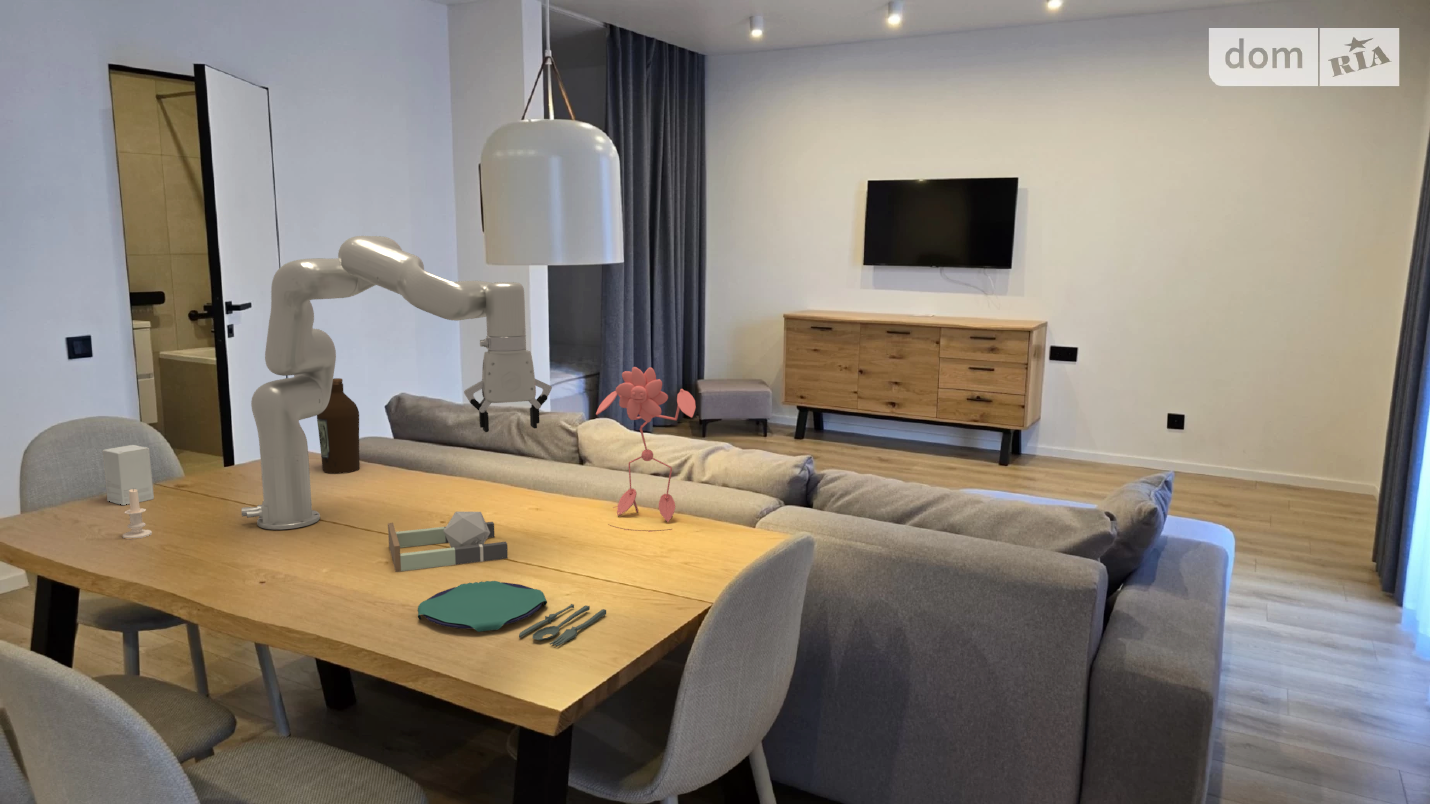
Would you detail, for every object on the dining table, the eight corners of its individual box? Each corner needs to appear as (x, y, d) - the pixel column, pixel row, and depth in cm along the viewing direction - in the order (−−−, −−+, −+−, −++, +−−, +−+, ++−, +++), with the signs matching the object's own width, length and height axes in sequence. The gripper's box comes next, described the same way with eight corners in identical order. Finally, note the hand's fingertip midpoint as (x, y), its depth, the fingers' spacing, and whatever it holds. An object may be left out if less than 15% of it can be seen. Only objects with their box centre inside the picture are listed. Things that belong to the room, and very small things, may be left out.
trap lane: (395, 571, 175) (394, 546, 174) (388, 546, 189) (387, 523, 188) (507, 558, 183) (507, 533, 182) (493, 535, 197) (492, 512, 197)
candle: (155, 535, 195) (151, 487, 193) (127, 541, 191) (122, 492, 189) (147, 530, 198) (143, 483, 197) (119, 535, 195) (114, 487, 193)
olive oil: (356, 463, 261) (351, 375, 257) (366, 471, 252) (361, 379, 248) (316, 468, 255) (310, 378, 251) (325, 476, 246) (319, 382, 242)
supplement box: (155, 499, 223) (150, 447, 221) (122, 506, 216) (116, 453, 214) (139, 494, 226) (134, 443, 224) (106, 501, 220) (101, 449, 218)
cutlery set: (477, 585, 170) (476, 573, 169) (616, 615, 156) (616, 602, 156) (395, 623, 152) (394, 609, 152) (544, 660, 139) (543, 646, 139)
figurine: (608, 506, 220) (607, 360, 215) (705, 520, 209) (707, 367, 204) (571, 523, 207) (569, 367, 201) (674, 539, 196) (674, 375, 190)
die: (466, 563, 182) (494, 521, 183) (429, 540, 182) (458, 498, 184) (475, 564, 190) (502, 524, 191) (441, 542, 190) (468, 502, 192)
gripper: (465, 348, 178) (469, 436, 181) (554, 344, 185) (556, 429, 187) (459, 344, 185) (463, 429, 188) (545, 341, 191) (548, 423, 194)
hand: (510, 429), depth 187 cm, fingers open, 9 cm apart
